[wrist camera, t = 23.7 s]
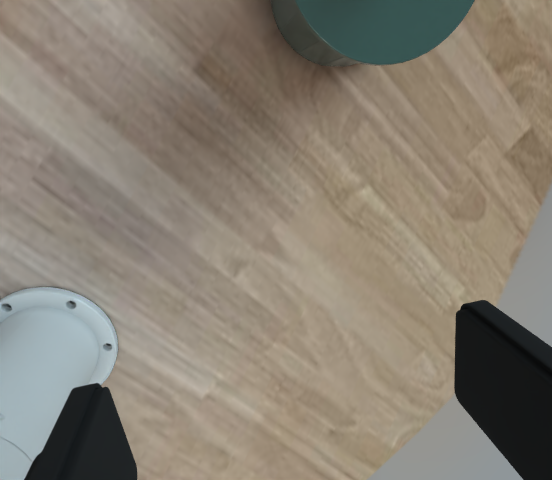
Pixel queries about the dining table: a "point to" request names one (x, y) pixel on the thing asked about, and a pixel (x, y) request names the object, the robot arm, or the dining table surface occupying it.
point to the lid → (382, 26)
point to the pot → (303, 36)
